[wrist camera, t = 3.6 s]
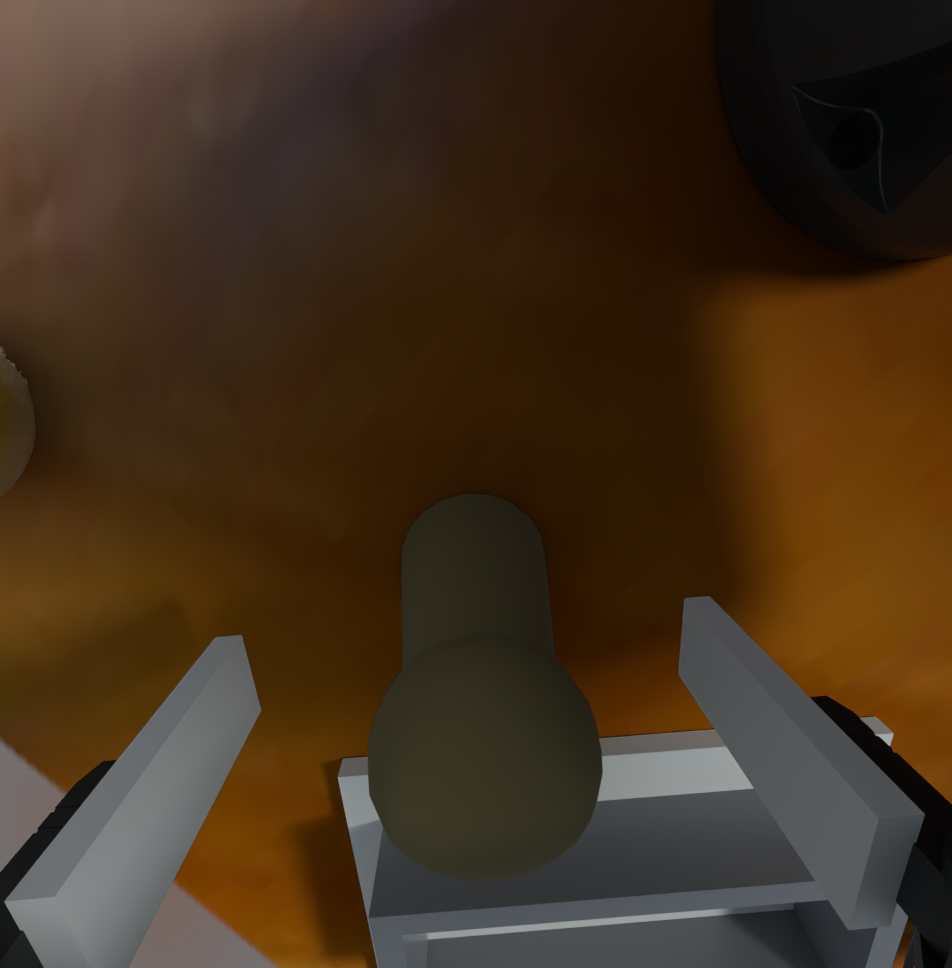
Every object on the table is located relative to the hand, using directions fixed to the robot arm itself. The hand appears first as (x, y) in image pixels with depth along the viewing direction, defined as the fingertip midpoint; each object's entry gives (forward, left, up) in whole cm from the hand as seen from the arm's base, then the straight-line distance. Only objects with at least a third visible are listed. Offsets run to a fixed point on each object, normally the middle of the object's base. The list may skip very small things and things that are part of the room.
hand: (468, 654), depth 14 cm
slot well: (+18, +6, -6) cm, 20 cm away
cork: (0, 0, -6) cm, 6 cm away
